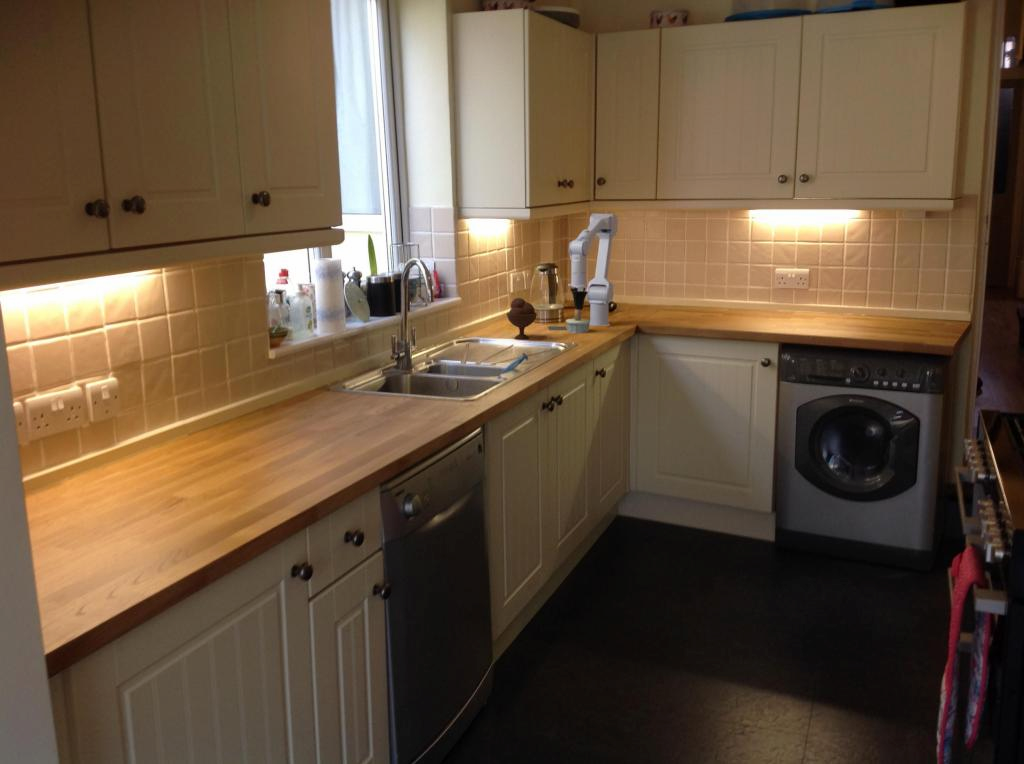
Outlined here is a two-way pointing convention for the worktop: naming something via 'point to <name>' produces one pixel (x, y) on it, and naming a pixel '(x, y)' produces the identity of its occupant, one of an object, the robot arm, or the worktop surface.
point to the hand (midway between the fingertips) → (578, 308)
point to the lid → (577, 319)
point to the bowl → (578, 328)
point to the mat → (557, 328)
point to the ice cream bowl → (521, 316)
